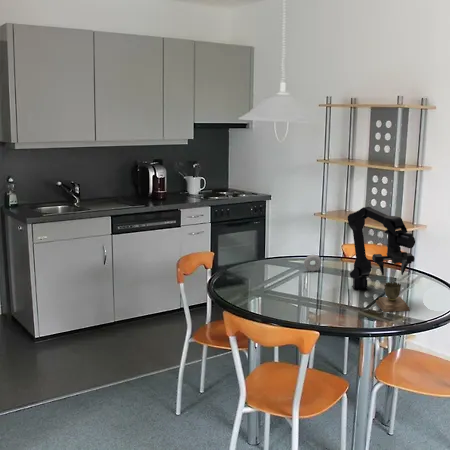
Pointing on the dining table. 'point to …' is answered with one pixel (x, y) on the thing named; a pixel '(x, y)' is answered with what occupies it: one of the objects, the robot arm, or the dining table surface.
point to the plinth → (392, 304)
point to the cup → (392, 290)
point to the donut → (309, 259)
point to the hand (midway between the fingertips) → (392, 275)
